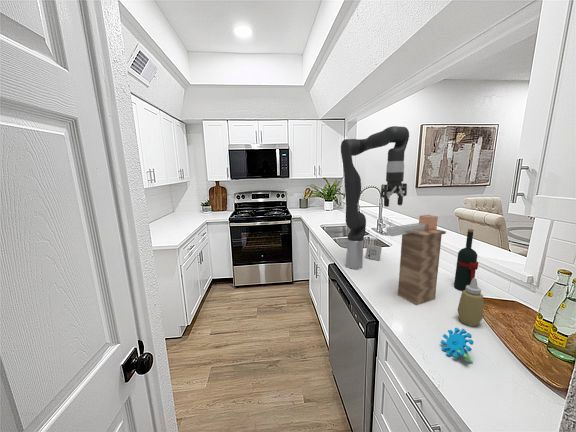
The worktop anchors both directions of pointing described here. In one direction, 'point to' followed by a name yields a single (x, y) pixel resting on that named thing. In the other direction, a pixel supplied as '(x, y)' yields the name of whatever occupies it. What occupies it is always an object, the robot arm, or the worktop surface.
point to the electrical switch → (373, 252)
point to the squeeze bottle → (471, 305)
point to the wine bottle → (466, 264)
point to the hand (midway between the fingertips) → (393, 205)
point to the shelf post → (419, 266)
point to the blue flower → (457, 343)
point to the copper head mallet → (415, 226)
